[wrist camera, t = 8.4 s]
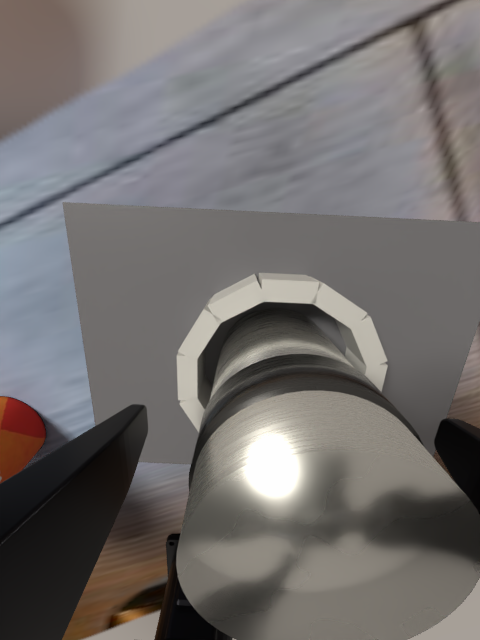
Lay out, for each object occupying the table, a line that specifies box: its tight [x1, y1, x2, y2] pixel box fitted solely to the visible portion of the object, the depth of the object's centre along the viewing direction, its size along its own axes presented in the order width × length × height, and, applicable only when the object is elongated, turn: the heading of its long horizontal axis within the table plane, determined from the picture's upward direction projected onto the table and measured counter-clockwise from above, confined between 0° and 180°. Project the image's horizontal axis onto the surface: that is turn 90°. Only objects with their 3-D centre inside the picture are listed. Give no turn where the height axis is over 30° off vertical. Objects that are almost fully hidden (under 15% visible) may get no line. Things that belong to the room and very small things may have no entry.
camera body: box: [63, 202, 480, 464], centre depth 13 cm, size 13×18×7 cm
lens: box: [176, 308, 480, 640], centre depth 8 cm, size 5×5×8 cm
